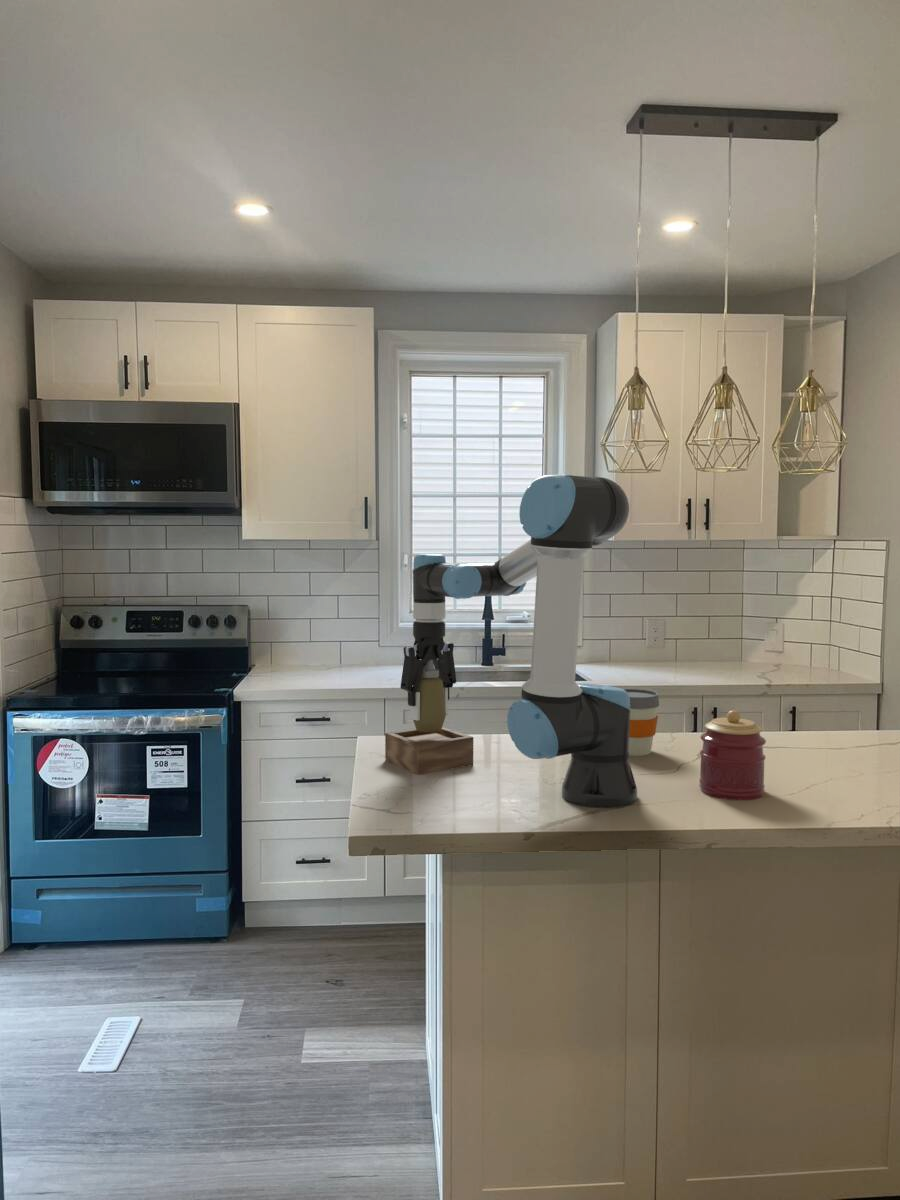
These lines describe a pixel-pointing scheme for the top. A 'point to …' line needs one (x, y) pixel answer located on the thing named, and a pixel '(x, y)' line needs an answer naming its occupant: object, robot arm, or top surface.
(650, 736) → the reusable coffee cup
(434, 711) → the squeeze bottle
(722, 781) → the canister
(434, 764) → the walnut tray
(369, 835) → the top surface
